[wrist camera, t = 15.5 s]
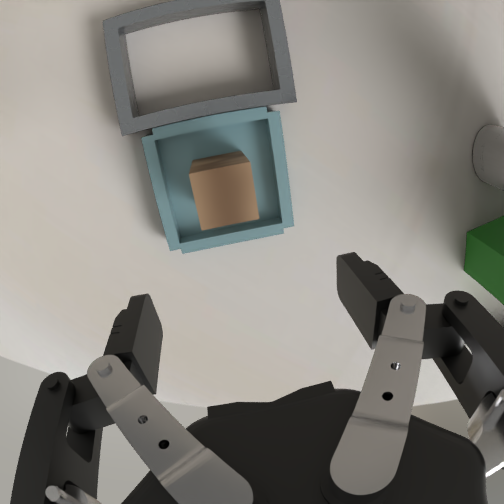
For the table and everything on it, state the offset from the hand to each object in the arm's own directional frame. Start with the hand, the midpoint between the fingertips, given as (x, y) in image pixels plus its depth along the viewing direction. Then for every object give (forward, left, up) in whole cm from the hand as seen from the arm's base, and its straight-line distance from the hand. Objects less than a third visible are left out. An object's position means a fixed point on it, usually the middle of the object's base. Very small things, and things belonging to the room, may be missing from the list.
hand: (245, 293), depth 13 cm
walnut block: (0, 0, -21) cm, 21 cm away
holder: (0, -13, -22) cm, 26 cm away
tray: (0, 0, -22) cm, 22 cm away
